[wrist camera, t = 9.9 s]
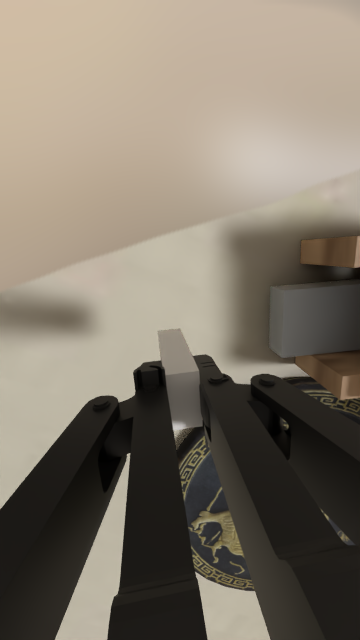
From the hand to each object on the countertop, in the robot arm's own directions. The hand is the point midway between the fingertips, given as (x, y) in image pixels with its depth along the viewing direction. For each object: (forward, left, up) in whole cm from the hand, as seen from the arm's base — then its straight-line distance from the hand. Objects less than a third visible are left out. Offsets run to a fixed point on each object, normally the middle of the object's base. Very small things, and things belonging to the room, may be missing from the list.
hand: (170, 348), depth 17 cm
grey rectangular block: (+15, -1, -7) cm, 16 cm away
